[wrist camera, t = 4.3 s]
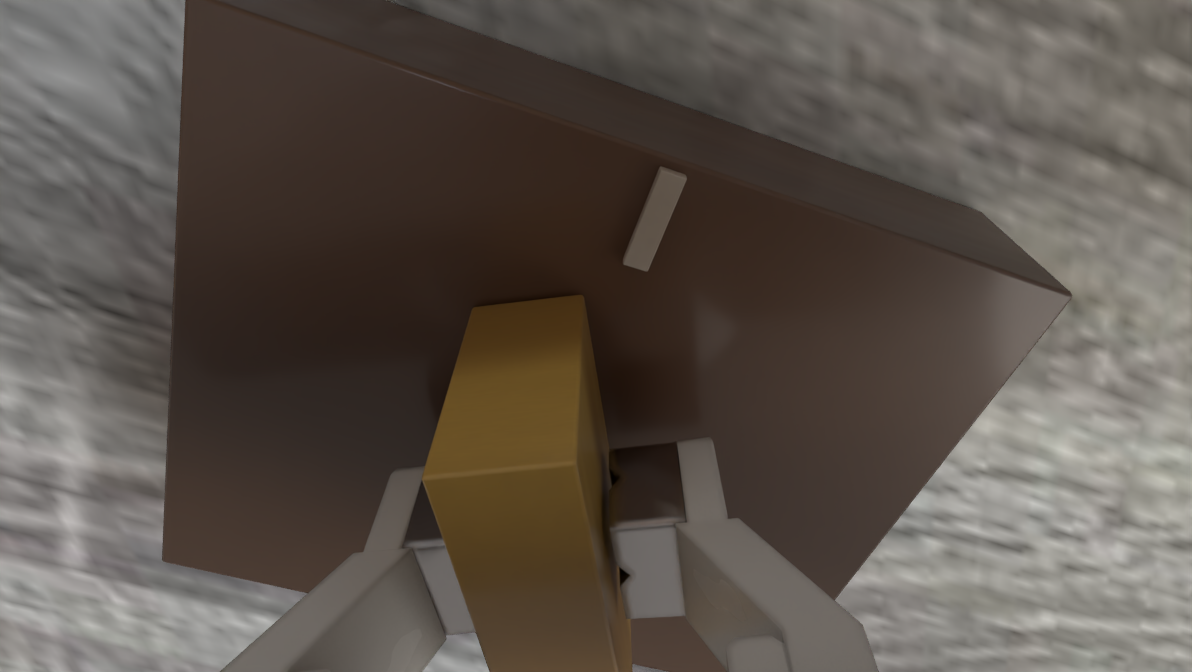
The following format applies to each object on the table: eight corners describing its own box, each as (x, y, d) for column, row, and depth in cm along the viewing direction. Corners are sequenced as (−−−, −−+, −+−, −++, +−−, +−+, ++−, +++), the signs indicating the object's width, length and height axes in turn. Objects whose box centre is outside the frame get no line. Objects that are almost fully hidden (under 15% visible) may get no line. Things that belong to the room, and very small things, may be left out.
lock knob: (471, 305, 10) (414, 495, 7) (583, 292, 10) (575, 479, 7) (539, 569, 13) (520, 786, 10) (628, 561, 13) (636, 778, 10)
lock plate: (281, -39, 11) (176, -8, 8) (982, 211, 13) (1082, 301, 10) (230, 452, 16) (155, 570, 13) (740, 577, 18) (764, 701, 15)
